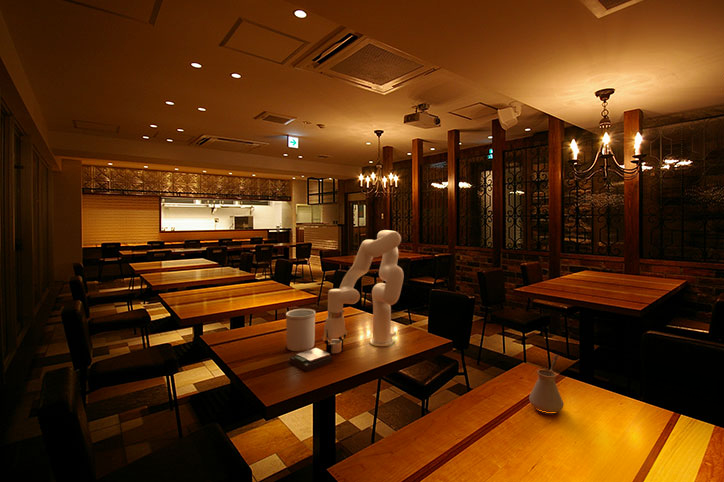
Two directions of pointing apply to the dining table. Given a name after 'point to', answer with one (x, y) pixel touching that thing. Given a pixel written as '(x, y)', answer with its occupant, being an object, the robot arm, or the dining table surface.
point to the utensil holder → (300, 329)
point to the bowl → (336, 346)
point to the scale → (309, 365)
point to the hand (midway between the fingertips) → (334, 349)
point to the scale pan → (313, 354)
